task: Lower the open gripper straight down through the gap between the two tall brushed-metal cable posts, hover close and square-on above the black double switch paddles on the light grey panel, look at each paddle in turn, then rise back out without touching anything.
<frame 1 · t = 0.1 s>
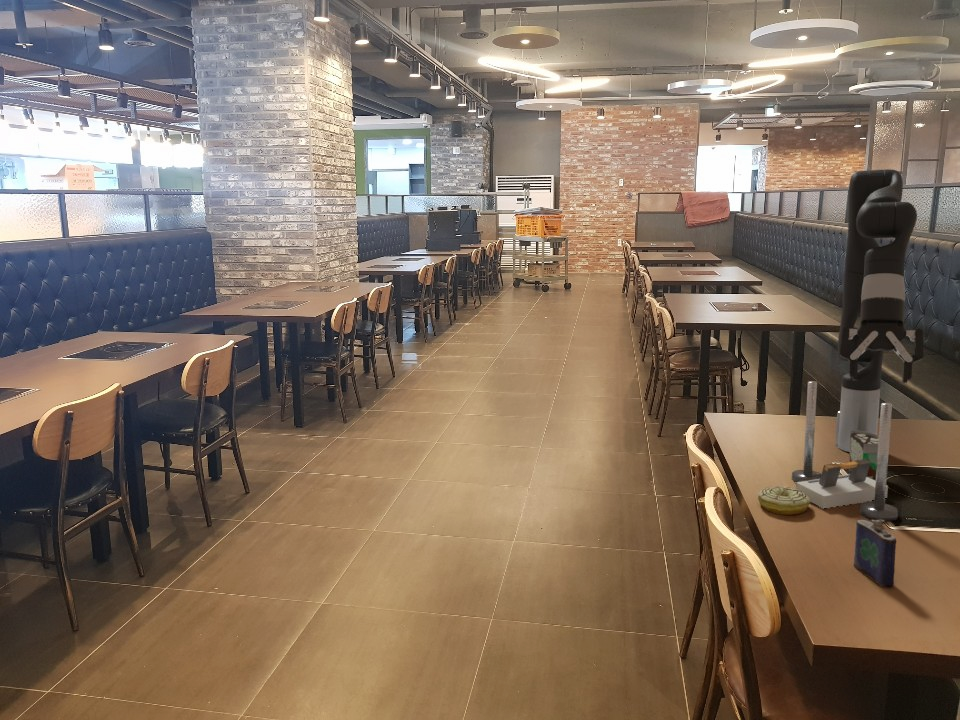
hand: (879, 381, 143), 31 cm above the table, tool tilted 20°, fingers open, 8 cm apart
decorated donut: (783, 508, 163), on the table
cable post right: (878, 514, 157), on the table
food container: (868, 477, 179), on the table
flask: (873, 576, 132), on the table
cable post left: (807, 480, 178), on the table
switch panel: (840, 496, 167), on the table
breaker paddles: (844, 473, 165), point 6 cm above the table, hinge at 15.0°
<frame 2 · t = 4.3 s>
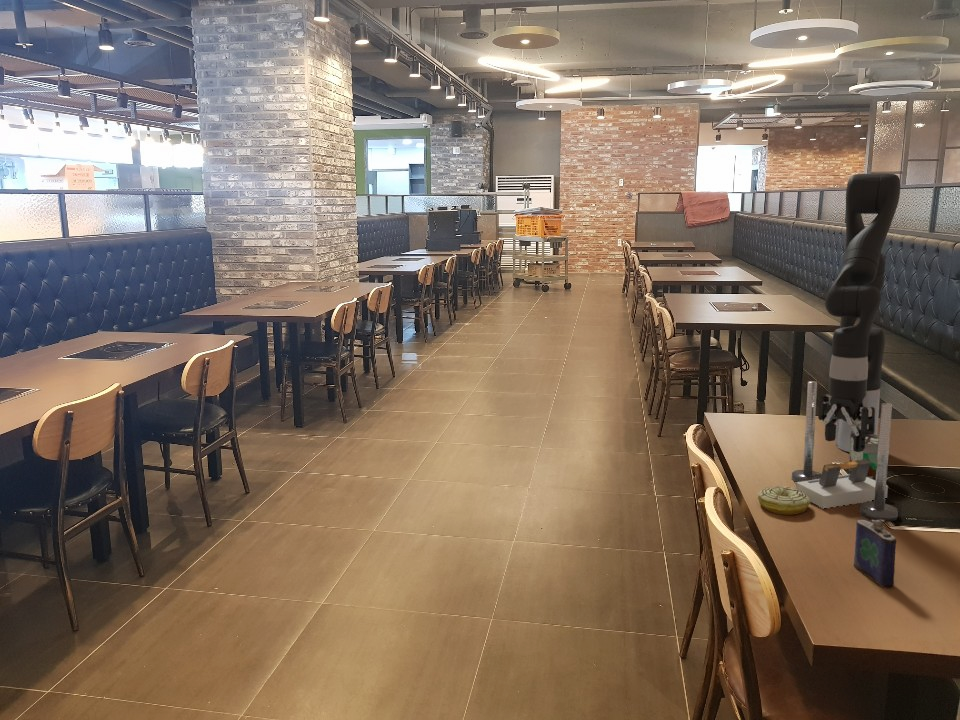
hand: (843, 445, 165), 12 cm above the table, tool pointing down, fingers open, 8 cm apart
nothing on the table moved.
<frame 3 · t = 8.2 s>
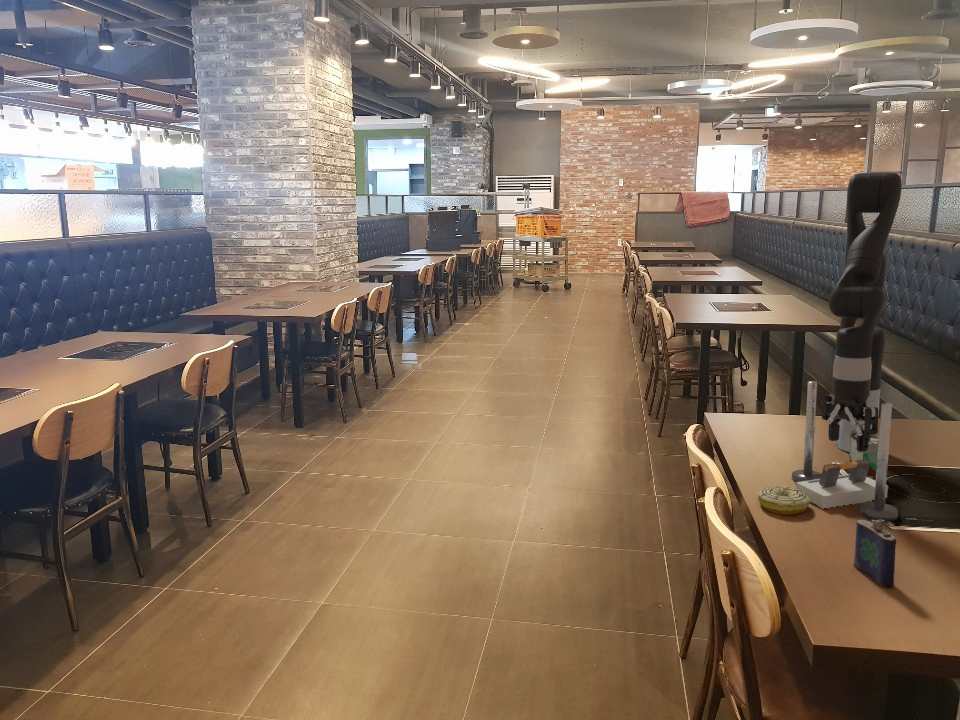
hand: (847, 445, 166), 12 cm above the table, tool pointing down, fingers open, 8 cm apart
nothing on the table moved.
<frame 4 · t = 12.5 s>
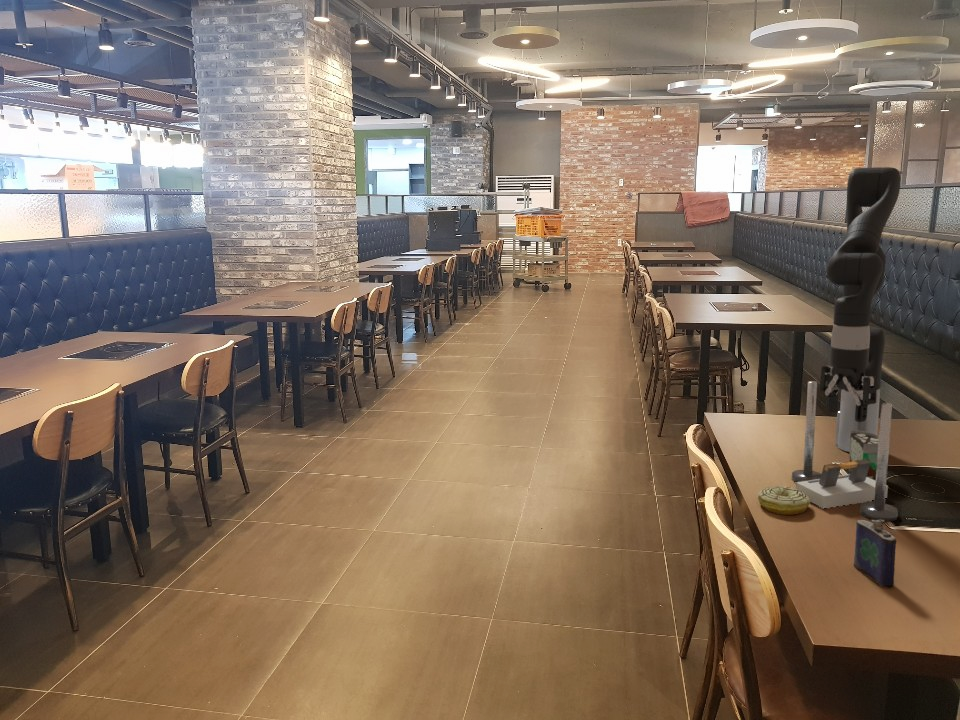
hand: (845, 416, 164), 19 cm above the table, tool pointing down, fingers open, 8 cm apart
nothing on the table moved.
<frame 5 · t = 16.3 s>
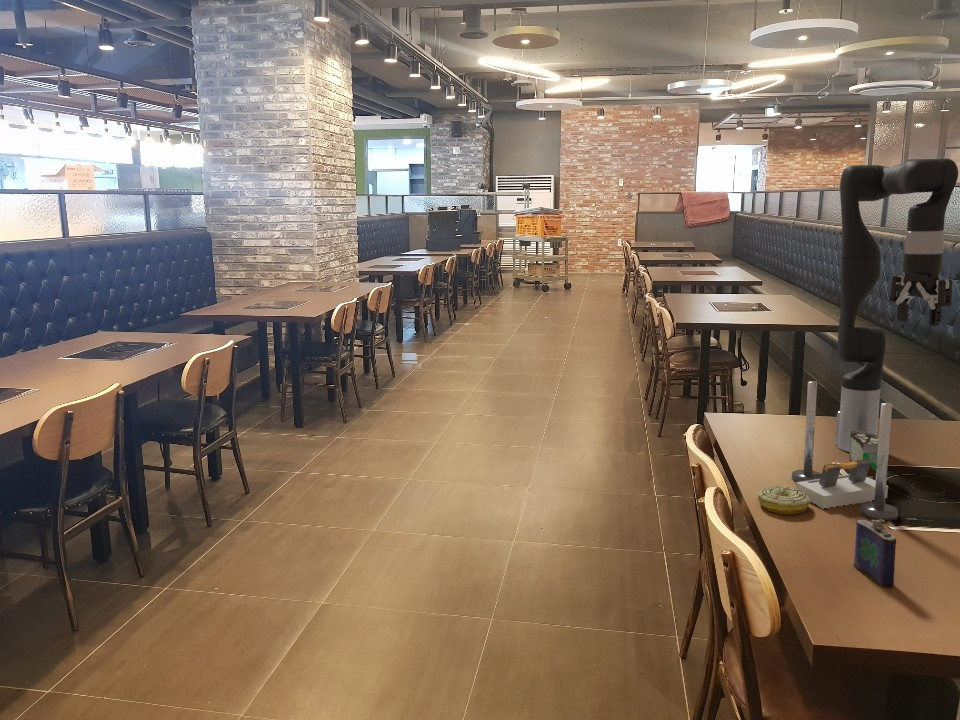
hand: (917, 323, 167), 38 cm above the table, tool pointing down, fingers open, 8 cm apart
nothing on the table moved.
at the end: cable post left moved 0.0 cm from its start; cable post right moved 0.0 cm from its start; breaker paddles at +15° (first picture: +15°) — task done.
